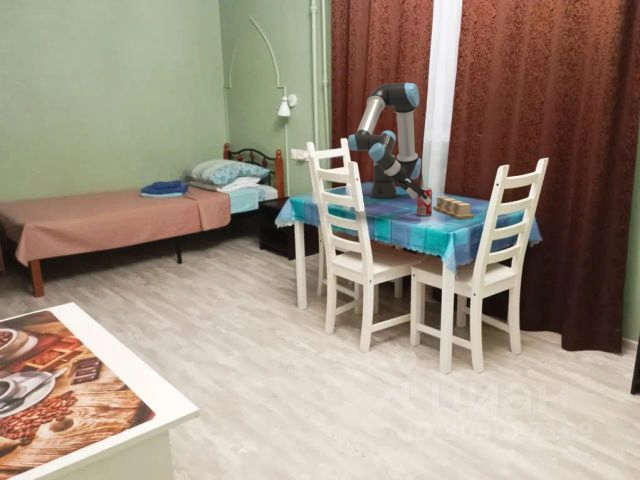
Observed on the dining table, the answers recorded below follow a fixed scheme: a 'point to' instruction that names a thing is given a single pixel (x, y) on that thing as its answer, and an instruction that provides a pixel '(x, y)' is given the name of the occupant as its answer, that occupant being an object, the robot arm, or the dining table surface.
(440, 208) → the ridge
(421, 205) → the soda can
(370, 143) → the robot arm
